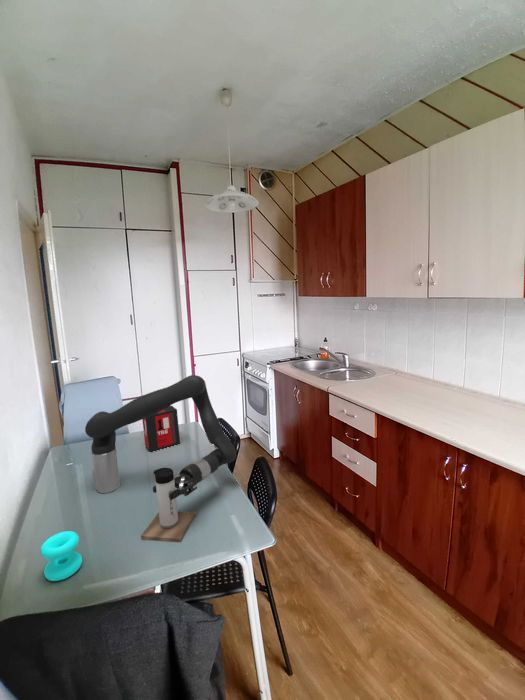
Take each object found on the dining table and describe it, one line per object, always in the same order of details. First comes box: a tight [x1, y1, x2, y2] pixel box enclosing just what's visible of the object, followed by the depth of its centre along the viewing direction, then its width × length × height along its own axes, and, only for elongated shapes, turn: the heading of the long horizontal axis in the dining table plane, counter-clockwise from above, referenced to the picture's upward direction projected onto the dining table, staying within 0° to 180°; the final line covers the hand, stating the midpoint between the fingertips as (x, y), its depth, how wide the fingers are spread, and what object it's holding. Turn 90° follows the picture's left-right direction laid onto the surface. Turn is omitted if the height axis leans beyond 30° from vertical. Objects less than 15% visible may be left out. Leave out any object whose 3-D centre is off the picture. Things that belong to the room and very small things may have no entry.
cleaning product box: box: [141, 405, 181, 453], centre depth 189 cm, size 16×9×20 cm, turn 122°
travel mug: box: [153, 467, 179, 529], centre depth 121 cm, size 6×7×20 cm
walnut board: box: [140, 510, 197, 543], centre depth 123 cm, size 14×14×1 cm
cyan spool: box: [40, 530, 83, 582], centre depth 105 cm, size 10×10×10 cm
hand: (161, 493), depth 119 cm, fingers open, 8 cm apart
